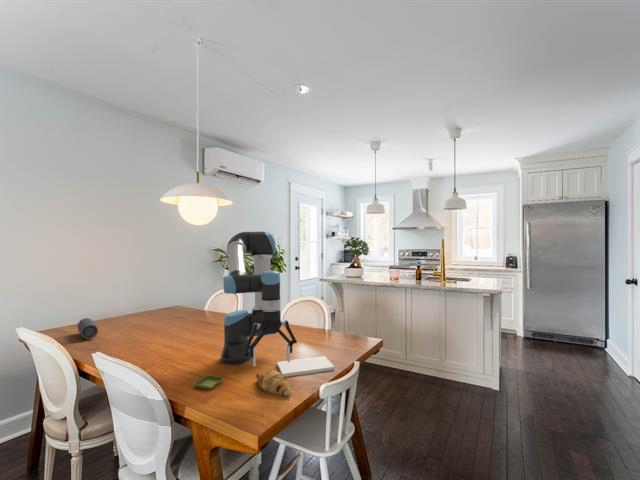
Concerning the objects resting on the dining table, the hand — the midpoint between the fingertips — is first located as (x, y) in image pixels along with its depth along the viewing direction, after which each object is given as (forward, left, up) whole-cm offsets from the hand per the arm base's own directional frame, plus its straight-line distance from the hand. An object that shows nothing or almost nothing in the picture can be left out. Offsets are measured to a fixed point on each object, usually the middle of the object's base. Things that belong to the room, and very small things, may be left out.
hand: (271, 363), depth 126 cm
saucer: (-24, +12, -11) cm, 29 cm away
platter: (+18, +16, -10) cm, 26 cm away
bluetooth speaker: (-100, +107, -11) cm, 147 cm away
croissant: (0, 0, -11) cm, 11 cm away
